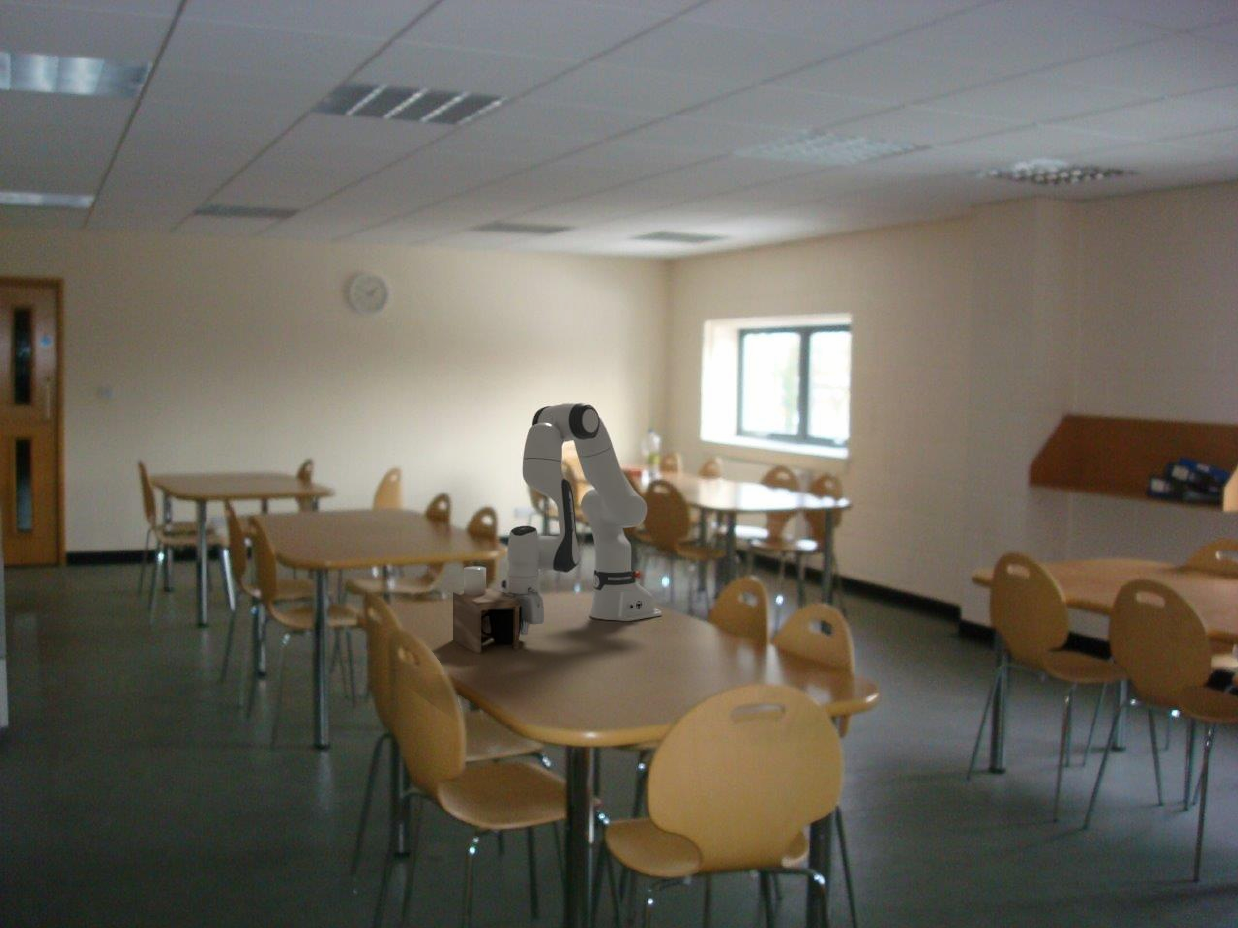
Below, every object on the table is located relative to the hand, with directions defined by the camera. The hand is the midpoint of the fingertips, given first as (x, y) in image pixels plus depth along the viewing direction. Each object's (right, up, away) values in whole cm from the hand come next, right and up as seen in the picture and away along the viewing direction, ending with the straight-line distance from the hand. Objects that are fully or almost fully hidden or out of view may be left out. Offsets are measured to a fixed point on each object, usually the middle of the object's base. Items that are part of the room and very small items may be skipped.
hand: (523, 634), depth 323 cm
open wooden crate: (-10, -2, -5) cm, 11 cm away
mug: (-6, -2, -3) cm, 7 cm away
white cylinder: (-13, +12, -3) cm, 18 cm away
